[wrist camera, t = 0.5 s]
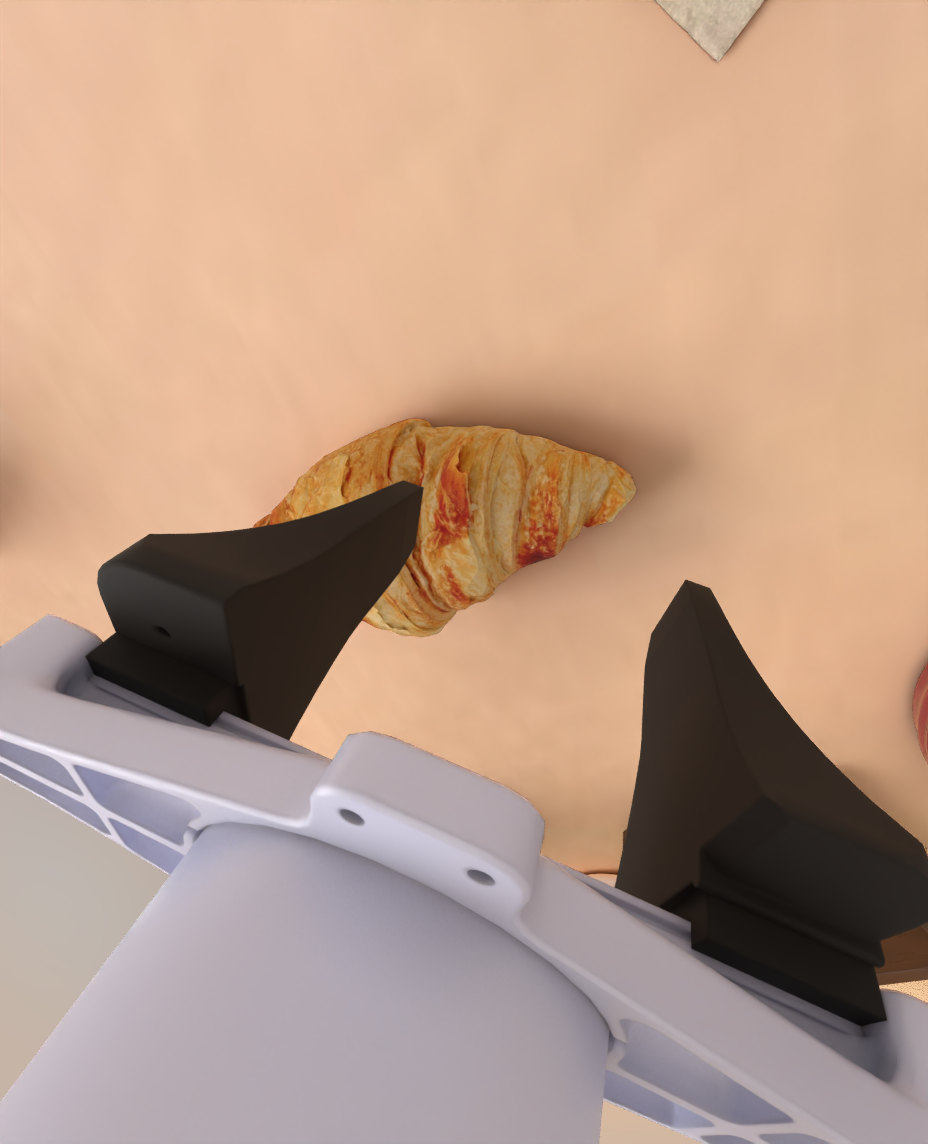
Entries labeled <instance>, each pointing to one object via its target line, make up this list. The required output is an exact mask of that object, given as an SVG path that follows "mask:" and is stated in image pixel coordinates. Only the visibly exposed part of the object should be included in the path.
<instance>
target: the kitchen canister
mask: <svg viewBox="0 0 928 1144" xmlns="http://www.w3.org/2000/svg"><path fill="white" fill-rule="evenodd" d="M912 711H913V719H914V724H915V727H916V730H917V733H918V740H919V745H920V748H921V751H922V753H923V756H924V758H925V760H926V762H927V764H928V663H927V665H926V666H925V668H924V670H923V672H922V673H921V675H920V678H919V680H918V682H917V685H916V688H915V691H914V697H913V706H912Z"/></svg>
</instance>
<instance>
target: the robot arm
mask: <svg viewBox="0 0 928 1144" xmlns="http://www.w3.org/2000/svg"><path fill="white" fill-rule="evenodd" d="M423 490H424V487H421V486H419V485H416V484H413V483H410V482H407V481H404V480H403V481H400V482H397V483H395V484H392V485H390V486H387V487H385V488H383V489H380V490H378V491H376V492H373V493H371V494H369V495H366V496H364V497H361V498H359V499H356V500H354V501H351V502H349V503H346V504H343V505H340V506H337V507H335V508H332V509H329V510H326V511H323V512H320V513H317V514H314V515H311V516H307V517H303V518H300V519H295V520H291V521H287V522H283V523H278V524H273V525H267V526H261V527H255V528H249V529H242V530H234V531H224V532H212V533H196V534H149V535H147V536H146V537H144V538H143V539H141V540H139V541H138V542H136V543H135V544H133V545H132V546H130V547H129V548H127V549H126V550H124V551H123V552H121V553H120V554H118V555H116V556H115V557H113V558H112V559H110V560H109V561H107V562H106V563H104V564H103V565H102V566H101V568H100V569H99V571H98V580H97V584H98V588H99V591H100V595H101V597H102V600H103V602H104V605H105V607H106V609H107V612H108V614H109V617H110V619H111V622H112V624H113V626H114V629H115V631H116V633H115V634H113V635H112V636H111V637H109V638H108V639H107V640H106V641H104V642H103V641H102V640H101V639H100V638H99V637H98V636H97V635H96V634H94V633H92V632H91V631H89V630H87V629H85V628H82V627H80V626H78V625H76V624H73V623H71V622H69V621H67V620H64V619H62V618H60V617H58V616H55V615H50V614H48V615H47V616H45V617H44V618H42V619H41V620H39V621H38V622H36V623H35V624H33V625H32V626H30V627H29V628H27V629H26V630H24V631H23V632H21V633H20V634H19V635H17V636H16V637H14V638H13V639H11V640H10V641H8V642H7V643H5V644H4V645H2V646H1V647H0V776H2V777H4V778H6V779H8V780H10V781H11V782H13V783H15V784H17V785H19V786H21V787H23V788H24V789H26V790H28V791H30V792H32V793H33V794H35V795H37V796H39V797H41V798H42V799H44V800H46V801H47V802H49V803H51V804H53V805H54V806H56V807H58V808H59V809H61V810H63V811H64V812H66V813H68V814H70V815H71V816H73V817H75V818H76V819H78V820H80V821H81V822H83V823H85V824H86V825H88V826H90V827H91V828H93V829H94V830H96V831H98V832H99V833H101V834H103V835H104V836H106V837H107V838H109V839H111V840H112V841H114V842H116V843H117V844H119V845H121V846H122V847H124V848H125V849H127V850H129V851H130V852H132V853H134V854H135V855H137V856H139V857H140V858H142V859H144V860H145V861H147V862H148V863H150V864H152V865H153V866H155V867H157V868H158V869H160V870H161V871H163V872H165V873H166V874H168V875H169V877H168V879H167V880H166V882H165V883H164V884H163V886H162V887H161V888H160V889H159V891H158V892H157V893H156V895H155V896H154V897H153V899H152V900H151V901H150V903H149V904H148V905H147V907H146V908H145V909H144V911H143V912H142V913H141V915H140V916H139V917H138V919H137V920H136V921H135V923H134V924H133V925H132V927H131V928H130V929H129V931H128V932H127V933H126V935H125V936H124V938H123V939H122V940H121V941H120V943H119V944H118V945H117V947H116V948H115V949H114V951H113V952H112V954H111V955H110V956H109V958H108V959H107V960H106V961H105V963H104V964H103V966H102V967H101V968H100V969H99V971H98V972H97V973H96V975H95V976H94V977H93V979H92V980H91V981H90V983H89V984H88V985H87V987H86V988H85V989H84V991H83V992H82V993H81V995H80V996H79V997H78V999H77V1000H76V1001H75V1003H74V1004H73V1005H72V1007H71V1008H70V1009H69V1011H68V1012H67V1014H66V1015H65V1016H64V1018H63V1019H62V1020H61V1021H60V1023H59V1024H58V1026H57V1027H56V1028H55V1030H54V1031H53V1032H52V1034H51V1035H50V1036H49V1038H48V1039H47V1040H46V1042H45V1043H44V1044H43V1046H42V1047H41V1048H40V1050H39V1051H38V1052H37V1054H36V1055H35V1056H34V1058H33V1059H32V1060H31V1062H30V1063H29V1064H28V1066H27V1067H26V1068H25V1070H24V1071H23V1072H22V1074H21V1075H20V1076H19V1078H18V1079H17V1080H16V1082H15V1083H14V1084H13V1086H12V1087H11V1088H10V1090H9V1091H8V1092H7V1094H6V1095H5V1096H4V1098H3V1099H2V1100H1V1102H0V1144H599V1138H600V1126H601V1116H602V1105H603V1100H605V1101H607V1102H609V1103H611V1104H614V1105H616V1106H618V1107H621V1108H623V1109H626V1110H628V1111H630V1112H632V1113H634V1114H637V1115H639V1116H641V1117H644V1118H646V1119H648V1120H651V1121H653V1122H655V1123H657V1124H660V1125H662V1126H664V1127H667V1128H669V1129H671V1130H673V1131H676V1132H678V1133H680V1134H683V1135H685V1136H687V1137H690V1138H692V1139H694V1140H697V1141H699V1142H701V1143H703V1144H928V1003H926V1002H924V1001H922V1000H920V999H917V998H915V997H913V996H911V995H908V994H905V993H902V992H899V991H896V990H890V989H880V988H879V984H878V980H877V976H876V972H875V967H877V968H881V967H884V964H885V957H884V954H883V950H882V946H881V942H880V941H882V940H885V939H888V938H890V937H893V936H896V935H898V934H901V933H904V932H906V931H909V930H912V929H915V928H917V927H920V926H921V925H923V924H925V923H927V922H928V857H927V854H926V852H925V849H924V847H923V844H922V843H920V842H919V841H918V840H917V839H916V838H915V837H913V836H912V835H911V834H910V833H909V832H908V831H906V830H905V829H904V828H903V827H902V826H900V825H899V824H898V823H897V822H896V821H895V820H893V819H892V818H891V817H890V816H889V815H888V814H886V813H885V812H884V811H883V810H882V809H880V808H879V807H878V806H877V805H876V804H875V803H873V802H872V801H871V800H870V799H869V798H868V797H867V796H866V795H865V794H864V793H863V792H862V791H861V790H859V789H858V788H857V787H856V786H855V785H854V784H853V783H852V782H851V781H850V780H849V779H848V778H847V777H846V776H845V775H844V774H843V773H842V772H841V771H840V770H839V769H838V768H837V767H836V766H835V765H834V764H833V763H832V762H831V761H830V760H829V759H828V758H827V757H826V756H825V755H824V754H823V753H822V752H821V751H820V750H819V748H818V747H817V746H816V745H815V744H814V743H813V742H812V741H811V740H810V739H809V737H808V736H807V735H806V734H805V733H804V732H803V731H802V730H801V728H800V727H799V726H798V725H797V724H796V723H795V721H794V720H793V719H792V718H791V716H790V715H789V714H788V713H787V711H786V710H785V709H784V707H783V706H782V705H781V704H780V702H779V701H778V700H777V698H776V697H775V696H774V695H773V693H772V692H771V690H770V689H769V688H768V686H767V685H766V683H765V682H764V680H763V679H762V677H761V676H760V674H759V673H758V671H757V670H756V668H755V667H754V665H753V664H752V662H751V660H750V659H749V657H748V656H747V654H746V652H745V651H744V649H743V647H742V645H741V644H740V642H739V640H738V639H737V637H736V635H735V633H734V631H733V630H732V628H731V626H730V624H729V622H728V620H727V619H726V617H725V615H724V613H723V611H722V609H721V607H720V605H719V604H718V602H717V600H716V598H715V596H714V594H713V593H712V591H711V589H710V588H708V587H705V586H702V585H699V584H696V583H694V582H691V581H688V580H685V581H684V583H683V585H682V586H681V588H680V589H679V591H678V593H677V594H676V596H675V597H674V599H673V600H672V602H671V604H670V605H669V607H668V608H667V610H666V612H665V613H664V615H663V616H662V618H661V619H660V621H659V623H658V624H657V626H656V627H655V629H654V630H653V632H652V634H651V638H650V643H649V648H648V653H647V658H646V664H645V674H644V694H643V718H642V741H641V751H640V760H639V766H638V772H637V778H636V784H635V790H634V796H633V801H632V806H631V812H630V817H629V823H628V828H627V832H626V837H625V842H624V847H623V851H622V856H621V861H620V866H619V870H618V874H617V879H616V883H615V887H612V886H610V885H608V884H605V883H603V882H601V881H599V880H597V879H594V878H592V877H590V876H588V875H585V874H583V873H581V872H579V871H577V870H574V869H572V868H570V867H568V866H566V865H563V864H561V863H559V862H557V861H554V860H552V859H550V858H548V857H546V856H543V855H541V854H540V852H541V847H542V843H543V838H544V826H545V821H544V819H543V818H542V817H541V815H540V814H539V813H538V811H537V810H536V809H535V808H534V806H533V805H532V804H531V803H530V801H529V800H528V799H526V798H525V797H523V796H521V795H520V794H518V793H517V792H515V791H513V790H512V789H510V788H508V787H507V786H505V785H502V784H500V783H498V782H496V781H493V780H491V779H489V778H486V777H484V776H482V775H479V774H477V773H475V772H473V771H470V770H468V769H466V768H463V767H461V766H459V765H456V764H454V763H452V762H450V761H447V760H445V759H443V758H440V757H438V756H436V755H433V754H431V753H429V752H427V751H424V750H422V749H420V748H417V747H415V746H413V745H410V744H408V743H406V742H404V741H401V740H399V739H397V738H394V737H391V736H387V735H384V734H380V733H376V732H373V731H369V732H362V733H355V734H349V735H348V736H347V738H346V739H345V741H344V742H343V744H342V746H341V747H340V749H339V750H338V752H337V754H336V755H335V757H334V758H333V760H331V759H328V758H326V757H324V756H322V755H320V754H317V753H315V752H313V751H311V750H309V749H306V748H304V747H302V746H300V745H297V744H295V743H293V742H291V741H289V740H290V738H291V736H292V734H293V732H294V730H295V728H296V726H297V725H298V723H299V721H300V719H301V717H302V716H303V714H304V712H305V710H306V709H307V707H308V705H309V703H310V701H311V700H312V698H313V696H314V694H315V693H316V691H317V689H318V687H319V686H320V684H321V682H322V681H323V679H324V677H325V676H326V674H327V672H328V671H329V669H330V667H331V666H332V664H333V662H334V661H335V659H336V658H337V656H338V654H339V653H340V651H341V650H342V648H343V646H344V645H345V643H346V642H347V640H348V638H349V637H350V636H351V634H352V633H353V631H354V630H355V629H356V627H357V626H358V625H359V623H360V622H361V621H362V620H363V618H364V617H365V616H366V615H367V613H368V612H369V611H370V610H371V608H372V607H373V606H374V605H375V603H376V602H377V601H378V600H379V598H380V597H381V596H382V595H383V593H384V592H385V591H386V589H387V588H388V587H389V586H390V584H391V583H392V582H393V581H394V579H395V578H396V577H397V575H398V574H399V573H400V571H401V570H402V568H403V566H404V565H405V563H406V561H407V559H408V558H409V556H410V554H411V552H412V551H413V549H414V547H415V544H416V537H417V531H418V524H419V517H420V510H421V503H422V496H423ZM874 966H875V967H874Z"/></svg>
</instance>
